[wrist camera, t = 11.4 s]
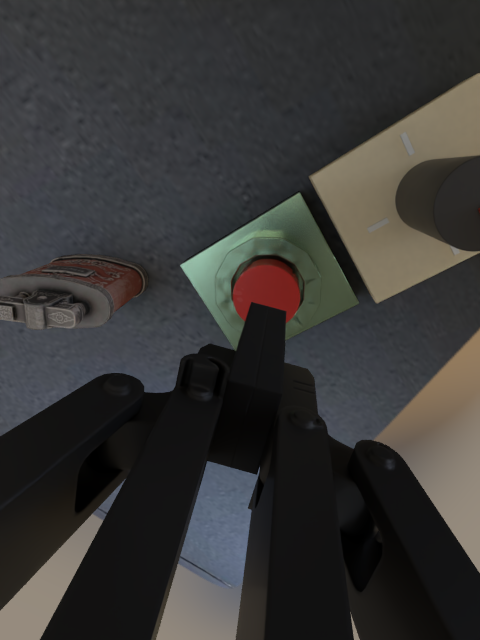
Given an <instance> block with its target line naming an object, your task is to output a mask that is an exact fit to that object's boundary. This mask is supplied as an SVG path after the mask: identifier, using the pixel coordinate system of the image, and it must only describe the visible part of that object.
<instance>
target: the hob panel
mask: <svg viewBox="0 0 480 640" xmlns="http://www.w3.org/2000/svg"><path fill="white" fill-rule="evenodd" d="M477 155H480V73H478V74H476V75H474V76H472V77H470V78H468V79H466V80H464V81H462V82H461V83H459V84H457V85H456V86H454V87H453V88H451V89H449V90H448V91H446V92H444V93H443V94H441V95H440V96H438V97H436V98H435V99H433V100H431V101H430V102H428V103H427V104H425V105H423V106H422V107H420V108H419V109H417V110H415V111H414V112H412V113H410V114H409V115H407V116H406V117H404V118H402V119H401V120H399V121H397V122H396V123H394V124H393V125H391V126H389V127H388V128H386V129H384V130H383V131H381V132H380V133H378V134H376V135H375V136H373V137H372V138H370V139H368V140H367V141H365V142H363V143H362V144H360V145H359V146H357V147H355V148H354V149H352V150H350V151H349V152H347V153H346V154H344V155H342V156H341V157H339V158H337V159H336V160H334V161H333V162H331V163H329V164H328V165H326V166H325V167H323V168H321V169H320V170H318V171H316V172H315V173H313V174H312V175H310V176H309V179H310V181H311V183H312V185H313V187H314V189H315V190H316V192H317V194H318V196H319V198H320V200H321V202H322V204H323V206H324V208H325V210H326V211H327V213H328V215H329V217H330V219H331V221H332V223H333V225H334V227H335V229H336V230H337V232H338V234H339V236H340V238H341V240H342V242H343V244H344V246H345V248H346V249H347V251H348V253H349V255H350V257H351V259H352V261H353V263H354V265H355V267H356V269H357V270H358V272H359V274H360V276H361V278H362V280H363V282H364V284H365V286H366V288H367V289H368V291H369V293H370V295H371V296H372V298H373V299H374V301H375V302H376V303H379V302H381V301H383V300H385V299H387V298H389V297H391V296H393V295H395V294H397V293H399V292H401V291H403V290H405V289H407V288H409V287H411V286H413V285H415V284H417V283H419V282H421V281H423V280H425V279H427V278H430V277H432V276H434V275H436V274H438V273H440V272H442V271H444V270H446V269H448V268H450V267H452V266H454V265H456V264H458V263H460V262H462V261H464V260H466V259H468V258H470V257H472V256H474V255H476V254H478V253H480V251H477V252H471V251H464V250H460V249H457V248H455V247H453V246H450V245H448V244H446V243H444V242H442V241H439V240H437V239H435V238H433V237H431V236H429V235H426V234H424V233H422V232H420V231H418V230H415V229H413V228H411V227H409V226H408V225H406V224H405V223H404V222H403V221H402V219H401V218H400V216H399V215H398V212H397V210H396V204H395V196H396V191H397V188H398V185H399V183H400V181H401V180H402V178H403V177H404V175H405V174H406V173H407V172H408V171H409V170H410V169H411V168H413V167H414V166H416V165H417V164H419V163H421V162H424V161H427V160H432V159H443V158H454V157H465V156H477Z"/></svg>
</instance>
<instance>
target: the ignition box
mask: <svg viewBox="0 0 480 640" xmlns="http://www.w3.org/2000/svg"><path fill="white" fill-rule="evenodd" d="M260 259H275V260H279V261H281V262H283V263H285V264H286V265H288V266H289V267H290V268H291V269H292V270H293V271H294V273H295V274H296V276H297V279H298V282H299V288H300V303H299V307H298V310H297V312H296V313H295V315H294V316H293V318H292V319H291V320H290V321H288V322H287V323H286V333H285V340H287V339H289V338H291V337H293V336H295V335H297V334H299V333H301V332H303V331H305V330H307V329H309V328H311V327H313V326H315V325H317V324H319V323H321V322H323V321H325V320H327V319H329V318H331V317H333V316H335V315H337V314H339V313H341V312H343V311H345V310H347V309H349V308H351V307H353V306H355V305H357V304H359V301H358V300H357V298H356V296H355V294H354V292H353V290H352V288H351V286H350V285H349V283H348V281H347V279H346V277H345V275H344V273H343V272H342V270H341V268H340V266H339V264H338V262H337V260H336V258H335V257H334V255H333V253H332V251H331V249H330V247H329V245H328V244H327V242H326V240H325V238H324V236H323V234H322V232H321V231H320V229H319V227H318V225H317V223H316V221H315V219H314V217H313V216H312V214H311V212H310V210H309V208H308V206H307V204H306V203H305V201H304V199H303V197H302V195H301V193H300V191H297V192H296V193H294V194H293V195H291V196H289V197H288V198H286V199H284V200H283V201H281V202H279V203H278V204H276V205H275V206H273V207H271V208H270V209H268V210H266V211H265V212H263V213H261V214H260V215H258V216H257V217H255V218H253V219H252V220H250V221H248V222H247V223H245V224H243V225H242V226H240V227H239V228H237V229H235V230H234V231H232V232H230V233H229V234H227V235H225V236H224V237H222V238H221V239H219V240H217V241H216V242H214V243H212V244H211V245H209V246H207V247H206V248H204V249H203V250H201V251H199V252H198V253H196V254H194V255H193V256H191V257H189V258H188V259H186V260H185V261H184V262H183V263H182V264H180V267H181V268H182V270H183V271H184V273H185V274H186V276H187V277H188V279H189V280H190V282H191V284H192V285H193V287H194V288H195V290H196V291H197V293H198V294H199V296H200V297H201V299H202V301H203V302H204V304H205V305H206V307H207V308H208V310H209V311H210V313H211V314H212V316H213V318H214V319H215V321H216V322H217V324H218V325H219V327H220V328H221V330H222V331H223V333H224V335H225V336H226V338H227V339H228V341H229V342H230V344H231V345H232V347H233V348H234V350H235V351H236V349H237V346H238V343H239V339H240V336H241V333H242V330H243V327H244V323H245V321H244V320H243V319H242V318H241V317H240V316H239V314H238V313H237V311H236V309H235V307H234V303H233V289H234V286H235V284H236V281H237V279H238V277H239V275H240V274H241V272H242V271H243V269H244V268H245V267H246V266H248V265H249V264H250V263H252V262H254V261H257V260H260Z"/></svg>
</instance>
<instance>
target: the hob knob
mask: <svg viewBox="0 0 480 640" xmlns="http://www.w3.org/2000/svg"><path fill="white" fill-rule="evenodd" d="M395 204H396V210H397V212H398V215H399V216H400V218H401V219H402V221H403V222H404V223H405V224H406V225H408V226H409V227H411V228H413V229H415V230H418V231H420V232H422V233H424V234H426V235H429V236H431V237H433V238H435V239H437V240H439V241H442V242H444V243H446V244H448V245H450V246H453V247H455V248H457V249H460V250H464V251H471V252H477V251H480V155H477V156H465V157H454V158H443V159H432V160H427V161H424V162H421V163H419V164H417V165H416V166H414V167H413V168H411V169H410V170H409V171H408V172H407V173H406V174H405V175H404V177H403V178H402V180H401V181H400V183H399V185H398V188H397V191H396V196H395Z"/></svg>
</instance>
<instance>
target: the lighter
mask: <svg viewBox="0 0 480 640" xmlns="http://www.w3.org/2000/svg"><path fill="white" fill-rule="evenodd" d="M147 285H148V276H147V273H146V271H145V270H144V269H143V268H142V266H140V265H138V264H135V263H132V262H129V261H125V260H122V259H119V258H113V257H108V256H102V255H86V254H79V255H67V256H61V257H59V258H56V259H53V260H52V261H51V262H50V264H47V265H44V266H42V267H39V268H37V269H34V270H31V271H29V272H26V273H23V274H21V275H11V276H7V277H4V278H1V279H0V320H8V321H16V322H24V323H26V325H27V328H29V329H34V330H42V329H47V328H53V327H59V328H91V327H99V326H102V325H103V324H105V323H106V322H107V321H108V320H109V319H111V317H112V315H113V313H114V312H115V311H116V310H118V309H119V308H120V307H121V306H123V305H124V304H125V303H126V302H128V301H129V300H130V299H131V298H134V297H138V296H139V295H140V294H141V293H143V292H144V291H145V290H146V288H147Z"/></svg>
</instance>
